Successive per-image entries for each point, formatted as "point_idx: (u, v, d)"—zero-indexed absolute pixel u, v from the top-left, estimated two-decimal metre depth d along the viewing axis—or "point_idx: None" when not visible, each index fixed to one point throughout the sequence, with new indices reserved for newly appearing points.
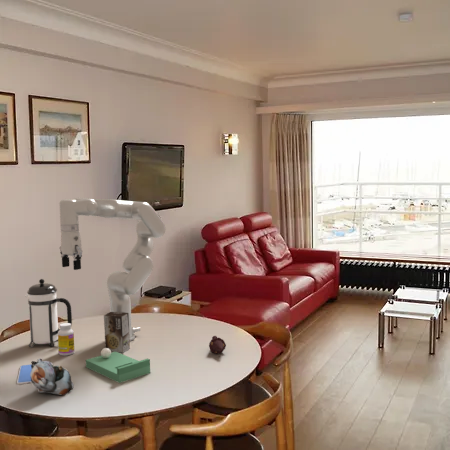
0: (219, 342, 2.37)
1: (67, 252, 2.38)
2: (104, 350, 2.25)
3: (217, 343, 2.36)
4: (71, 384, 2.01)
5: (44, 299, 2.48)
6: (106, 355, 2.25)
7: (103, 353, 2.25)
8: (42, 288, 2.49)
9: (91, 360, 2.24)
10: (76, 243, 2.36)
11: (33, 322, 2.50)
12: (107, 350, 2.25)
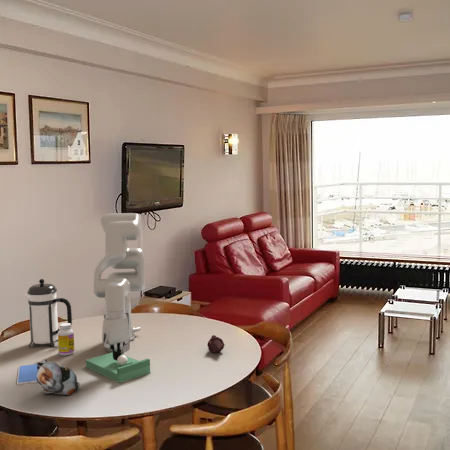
0: (217, 341, 2.38)
1: (121, 339, 2.19)
2: (120, 357, 2.17)
3: (215, 342, 2.37)
4: (77, 384, 2.01)
5: (44, 299, 2.48)
6: (123, 361, 2.16)
7: (120, 360, 2.16)
8: (42, 288, 2.49)
9: (91, 360, 2.24)
10: None
11: (33, 322, 2.50)
12: (123, 356, 2.17)
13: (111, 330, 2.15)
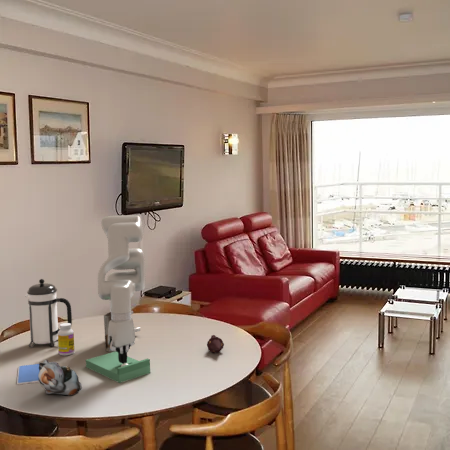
0: (217, 341, 2.38)
1: (127, 342, 2.16)
2: None
3: (215, 342, 2.37)
4: (79, 384, 2.01)
5: (44, 299, 2.48)
6: None
7: None
8: (42, 288, 2.49)
9: (91, 360, 2.24)
10: None
11: (33, 322, 2.50)
12: None
13: (117, 332, 2.13)
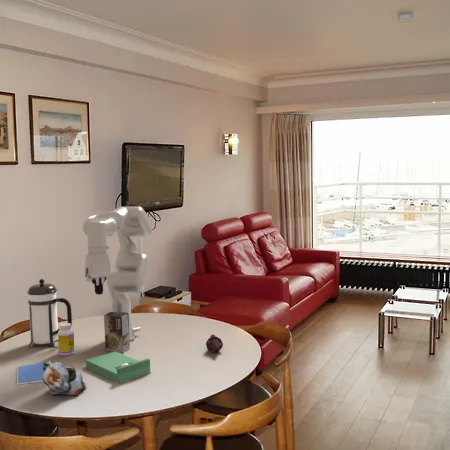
0: (216, 341, 2.38)
1: (103, 274, 2.32)
2: None
3: (213, 342, 2.38)
4: (83, 384, 2.01)
5: (44, 299, 2.48)
6: None
7: None
8: (42, 288, 2.49)
9: (91, 360, 2.24)
10: None
11: (33, 322, 2.50)
12: None
13: (93, 264, 2.29)
